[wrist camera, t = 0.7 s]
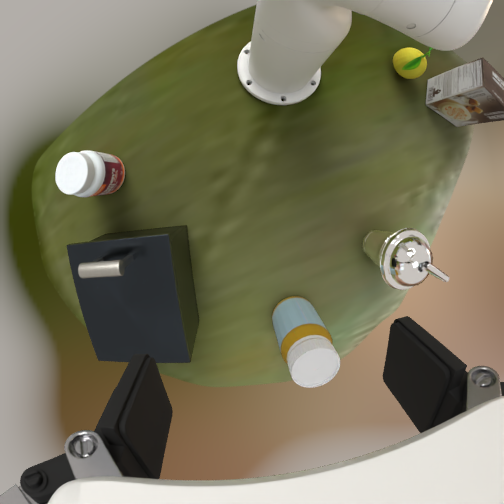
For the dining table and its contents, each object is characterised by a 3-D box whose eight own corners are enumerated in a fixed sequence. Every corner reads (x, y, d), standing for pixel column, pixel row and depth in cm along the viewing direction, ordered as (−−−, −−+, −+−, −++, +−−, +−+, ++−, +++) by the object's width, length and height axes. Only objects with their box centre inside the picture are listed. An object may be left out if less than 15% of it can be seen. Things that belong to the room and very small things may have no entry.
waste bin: (105, 233, 40) (71, 250, 29) (186, 225, 40) (171, 240, 30) (123, 323, 44) (100, 357, 33) (199, 320, 44) (191, 358, 34)
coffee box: (458, 101, 37) (515, 89, 22) (456, 127, 39) (516, 120, 23) (426, 78, 36) (483, 56, 21) (423, 105, 38) (484, 88, 22)
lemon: (409, 58, 35) (440, 41, 25) (416, 86, 37) (449, 72, 27) (379, 51, 35) (408, 30, 25) (386, 80, 36) (418, 62, 27)
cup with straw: (366, 278, 44) (436, 334, 25) (340, 236, 42) (413, 277, 23) (401, 247, 44) (482, 286, 24) (379, 204, 41) (465, 224, 22)
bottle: (272, 334, 46) (288, 394, 31) (269, 297, 44) (286, 350, 29) (313, 329, 46) (341, 384, 31) (312, 292, 44) (345, 340, 30)
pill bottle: (116, 200, 39) (79, 208, 28) (86, 184, 38) (46, 187, 27) (132, 163, 38) (99, 158, 27) (102, 148, 36) (63, 141, 25)
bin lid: (69, 243, 29) (44, 255, 24) (170, 232, 30) (156, 243, 24) (100, 357, 33) (85, 380, 28) (191, 359, 34) (185, 386, 28)
